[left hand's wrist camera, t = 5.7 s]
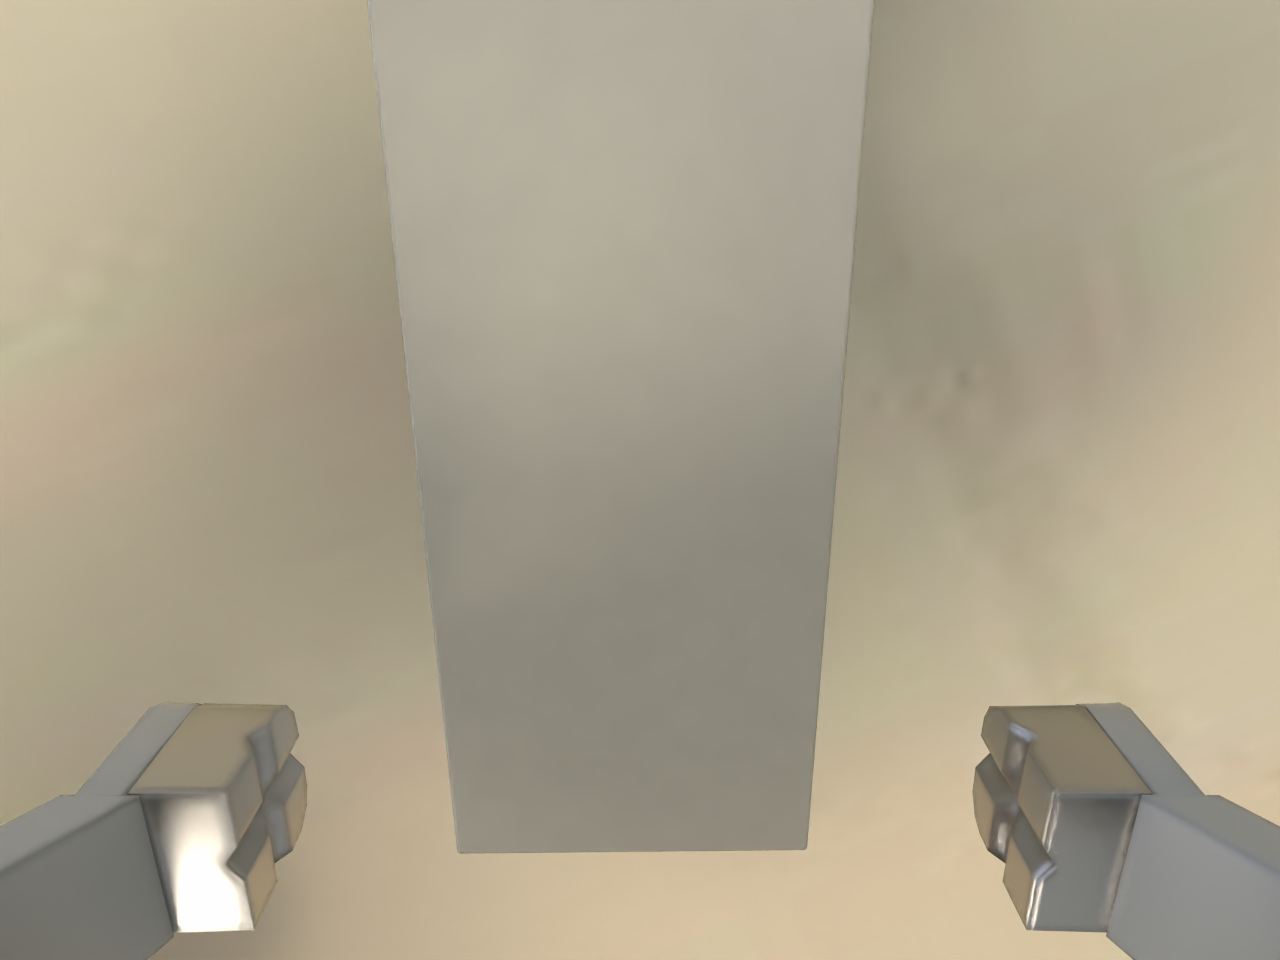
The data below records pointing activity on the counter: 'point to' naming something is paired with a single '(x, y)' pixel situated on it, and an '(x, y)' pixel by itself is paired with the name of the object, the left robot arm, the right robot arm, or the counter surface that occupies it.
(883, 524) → the counter surface
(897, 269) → the counter surface
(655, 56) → the bar
